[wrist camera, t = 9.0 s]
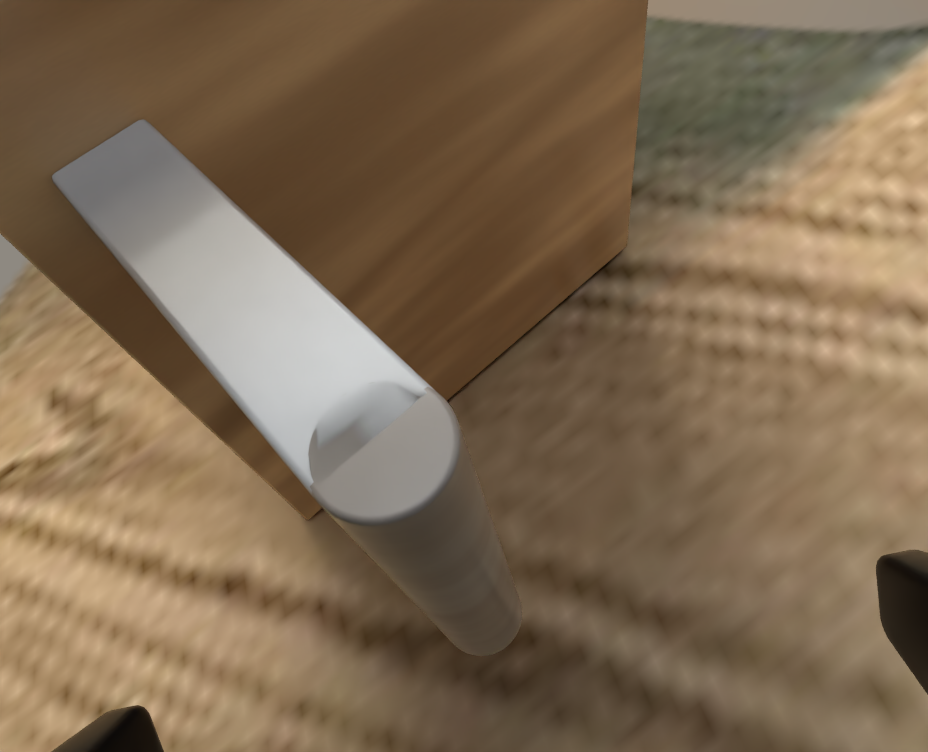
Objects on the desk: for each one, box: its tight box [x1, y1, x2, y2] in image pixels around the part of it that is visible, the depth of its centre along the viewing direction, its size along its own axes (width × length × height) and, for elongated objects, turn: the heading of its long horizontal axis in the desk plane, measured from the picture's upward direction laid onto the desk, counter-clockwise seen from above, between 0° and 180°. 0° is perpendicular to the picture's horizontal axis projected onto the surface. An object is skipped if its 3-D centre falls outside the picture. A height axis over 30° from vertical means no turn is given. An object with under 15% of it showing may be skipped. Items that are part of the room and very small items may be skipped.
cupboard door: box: [0, 0, 648, 656], centre depth 12 cm, size 8×13×13 cm, turn 132°
